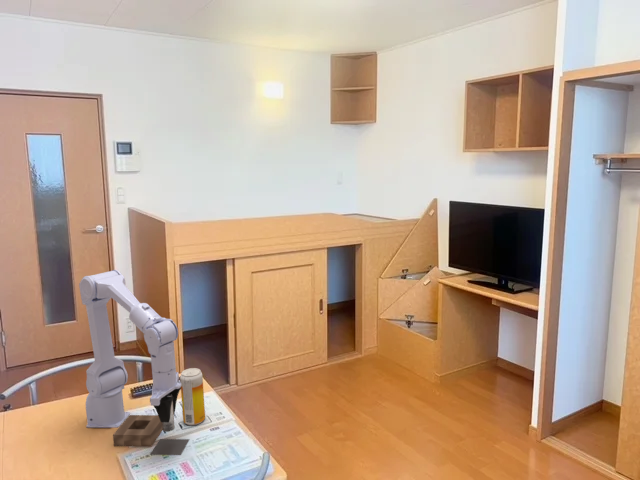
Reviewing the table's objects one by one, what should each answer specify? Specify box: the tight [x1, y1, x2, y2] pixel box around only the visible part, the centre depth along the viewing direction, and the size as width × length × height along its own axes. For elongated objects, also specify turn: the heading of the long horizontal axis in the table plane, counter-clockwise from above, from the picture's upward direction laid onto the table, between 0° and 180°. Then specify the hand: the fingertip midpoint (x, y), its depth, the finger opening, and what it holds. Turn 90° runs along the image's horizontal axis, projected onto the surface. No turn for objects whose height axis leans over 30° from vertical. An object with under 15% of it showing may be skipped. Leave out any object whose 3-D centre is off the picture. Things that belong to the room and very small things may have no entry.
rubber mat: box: [149, 438, 190, 456], centre depth 129 cm, size 8×7×1 cm
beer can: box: [179, 367, 206, 426], centre depth 140 cm, size 6×6×15 cm
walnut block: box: [112, 414, 163, 448], centre depth 134 cm, size 10×10×4 cm
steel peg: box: [162, 393, 175, 433], centre depth 127 cm, size 3×3×9 cm
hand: (167, 417), depth 127 cm, fingers closed on steel peg, 3 cm apart
